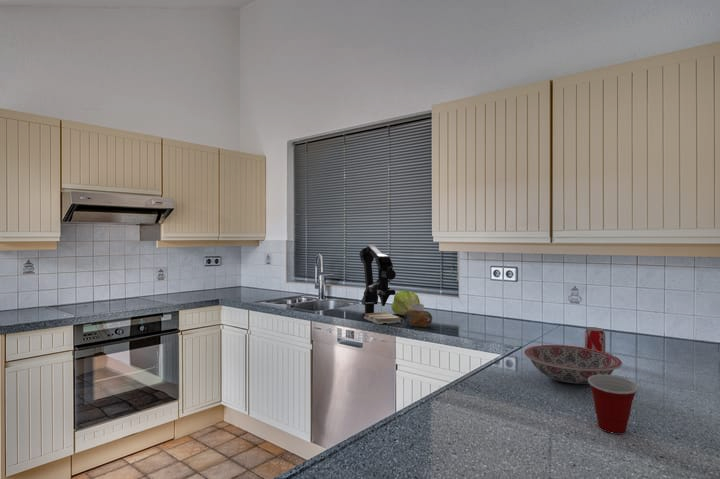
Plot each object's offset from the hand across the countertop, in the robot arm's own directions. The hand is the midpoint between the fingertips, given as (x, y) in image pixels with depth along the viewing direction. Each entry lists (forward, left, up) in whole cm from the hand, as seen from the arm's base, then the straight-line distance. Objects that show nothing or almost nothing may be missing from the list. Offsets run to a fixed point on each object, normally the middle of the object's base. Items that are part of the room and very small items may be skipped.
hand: (383, 306), depth 243 cm
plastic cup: (+144, -9, -8) cm, 145 cm away
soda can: (+100, +41, -8) cm, 109 cm away
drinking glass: (+12, +15, -8) cm, 21 cm away
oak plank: (+1, 0, -7) cm, 7 cm away
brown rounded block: (+19, +11, -9) cm, 24 cm away
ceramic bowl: (+113, +13, -8) cm, 114 cm away
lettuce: (-9, +20, -8) cm, 23 cm away
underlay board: (-2, 0, -8) cm, 8 cm away
